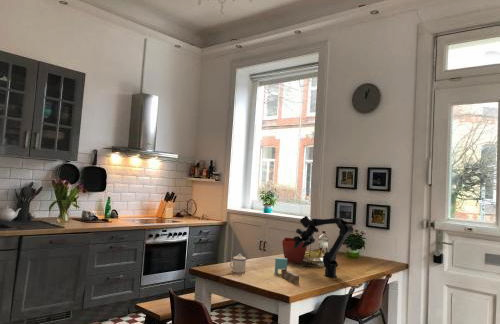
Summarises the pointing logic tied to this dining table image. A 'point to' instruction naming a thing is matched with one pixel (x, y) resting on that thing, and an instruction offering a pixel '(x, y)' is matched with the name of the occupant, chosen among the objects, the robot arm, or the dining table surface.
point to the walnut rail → (290, 276)
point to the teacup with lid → (238, 264)
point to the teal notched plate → (280, 264)
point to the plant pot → (293, 251)
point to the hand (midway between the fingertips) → (298, 247)
